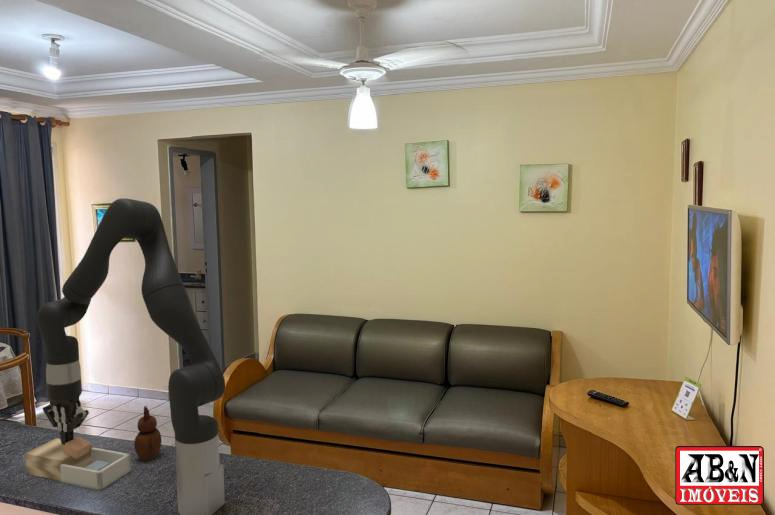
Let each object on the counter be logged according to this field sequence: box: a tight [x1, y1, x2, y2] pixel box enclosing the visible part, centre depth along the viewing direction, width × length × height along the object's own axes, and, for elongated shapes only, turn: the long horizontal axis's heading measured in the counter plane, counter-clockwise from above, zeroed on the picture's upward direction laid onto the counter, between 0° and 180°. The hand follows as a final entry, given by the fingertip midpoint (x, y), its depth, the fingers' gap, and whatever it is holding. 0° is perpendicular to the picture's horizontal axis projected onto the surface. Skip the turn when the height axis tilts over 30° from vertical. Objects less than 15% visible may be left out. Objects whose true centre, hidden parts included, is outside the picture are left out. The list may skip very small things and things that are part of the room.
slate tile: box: [85, 460, 110, 471], centre depth 138 cm, size 4×4×2 cm
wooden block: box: [24, 438, 93, 482], centre depth 142 cm, size 12×9×6 cm
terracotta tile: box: [64, 436, 92, 459], centre depth 139 cm, size 4×4×2 cm
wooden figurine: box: [134, 405, 162, 461], centre depth 148 cm, size 7×6×15 cm
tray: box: [60, 447, 132, 492], centre depth 138 cm, size 12×10×4 cm
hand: (67, 443), depth 140 cm, fingers closed
